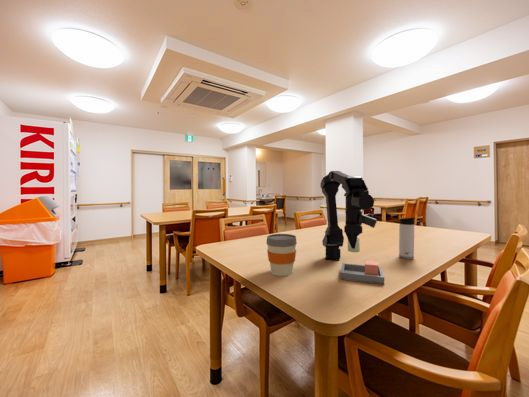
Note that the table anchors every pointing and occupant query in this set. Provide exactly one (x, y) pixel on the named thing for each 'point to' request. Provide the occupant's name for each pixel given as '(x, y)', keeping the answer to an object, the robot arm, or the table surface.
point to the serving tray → (360, 274)
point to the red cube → (371, 268)
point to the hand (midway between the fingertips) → (353, 247)
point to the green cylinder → (357, 246)
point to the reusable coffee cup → (281, 253)
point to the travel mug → (406, 238)
